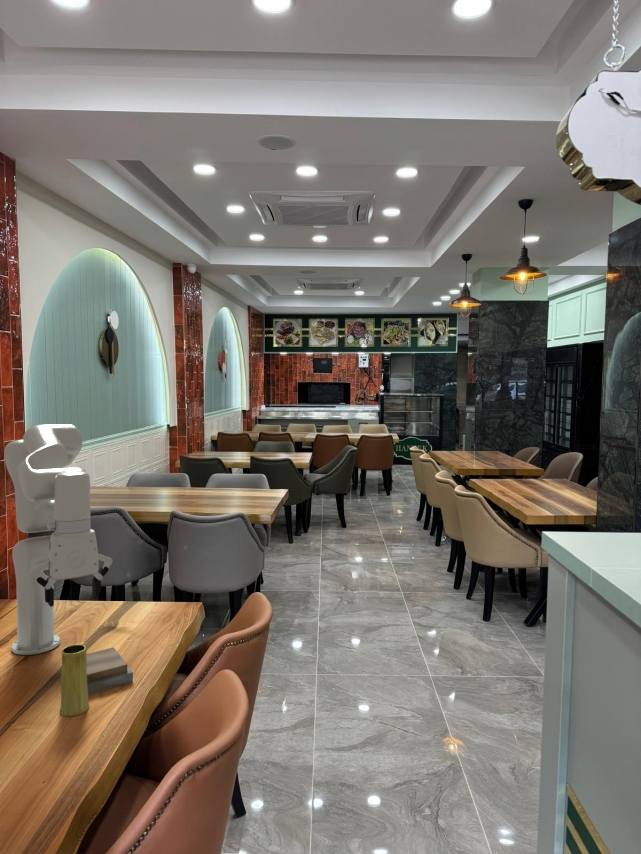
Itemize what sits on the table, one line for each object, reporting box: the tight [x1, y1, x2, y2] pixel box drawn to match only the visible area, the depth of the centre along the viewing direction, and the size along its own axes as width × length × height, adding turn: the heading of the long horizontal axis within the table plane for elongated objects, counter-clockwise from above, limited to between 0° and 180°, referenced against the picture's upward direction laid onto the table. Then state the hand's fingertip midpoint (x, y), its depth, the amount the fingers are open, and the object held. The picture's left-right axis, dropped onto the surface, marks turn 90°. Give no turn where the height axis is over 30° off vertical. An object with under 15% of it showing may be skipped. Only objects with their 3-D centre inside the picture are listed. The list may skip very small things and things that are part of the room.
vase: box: [59, 643, 90, 717], centre depth 130 cm, size 6×6×14 cm
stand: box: [60, 647, 134, 696], centre depth 145 cm, size 14×14×4 cm
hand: (73, 600), depth 129 cm, fingers open, 9 cm apart
